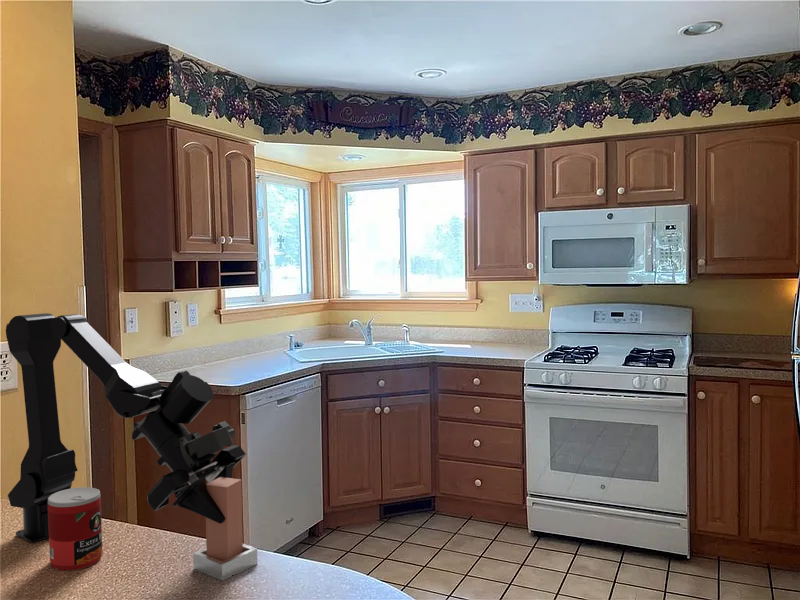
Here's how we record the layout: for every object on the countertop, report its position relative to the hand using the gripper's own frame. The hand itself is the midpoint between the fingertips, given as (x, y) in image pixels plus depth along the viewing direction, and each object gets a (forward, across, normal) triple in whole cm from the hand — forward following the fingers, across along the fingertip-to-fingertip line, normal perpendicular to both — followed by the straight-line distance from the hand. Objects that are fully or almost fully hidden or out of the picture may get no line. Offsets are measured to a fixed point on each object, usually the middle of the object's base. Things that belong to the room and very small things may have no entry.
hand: (231, 516), depth 104 cm
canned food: (-12, -6, +24) cm, 28 cm away
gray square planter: (+5, 0, +7) cm, 8 cm away
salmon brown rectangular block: (+4, 0, +6) cm, 7 cm away
